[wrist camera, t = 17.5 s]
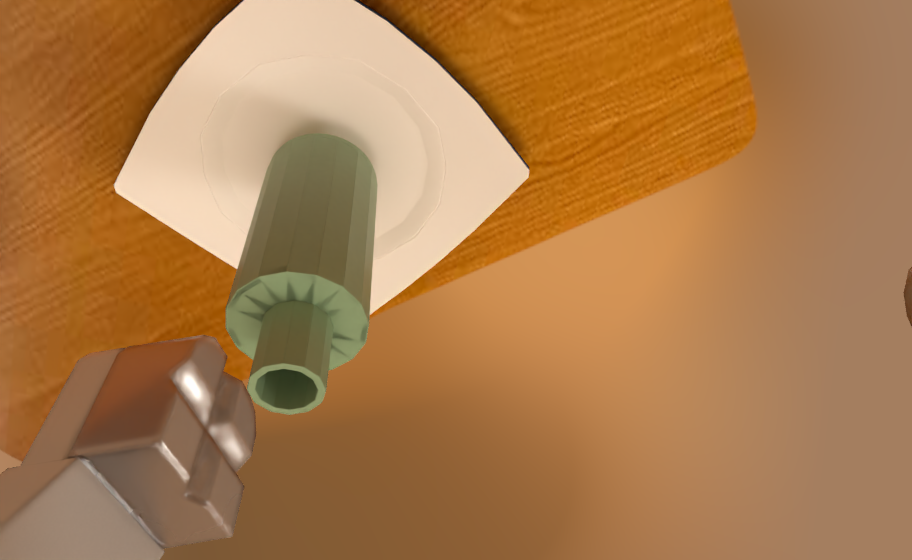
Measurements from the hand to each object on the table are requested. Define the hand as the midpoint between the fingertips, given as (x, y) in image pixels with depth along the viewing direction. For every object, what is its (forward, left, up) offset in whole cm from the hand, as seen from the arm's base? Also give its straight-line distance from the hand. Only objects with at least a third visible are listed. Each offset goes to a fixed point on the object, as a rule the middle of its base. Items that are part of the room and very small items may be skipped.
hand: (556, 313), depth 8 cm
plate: (+11, +16, -34) cm, 39 cm away
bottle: (+11, +16, -31) cm, 37 cm away
